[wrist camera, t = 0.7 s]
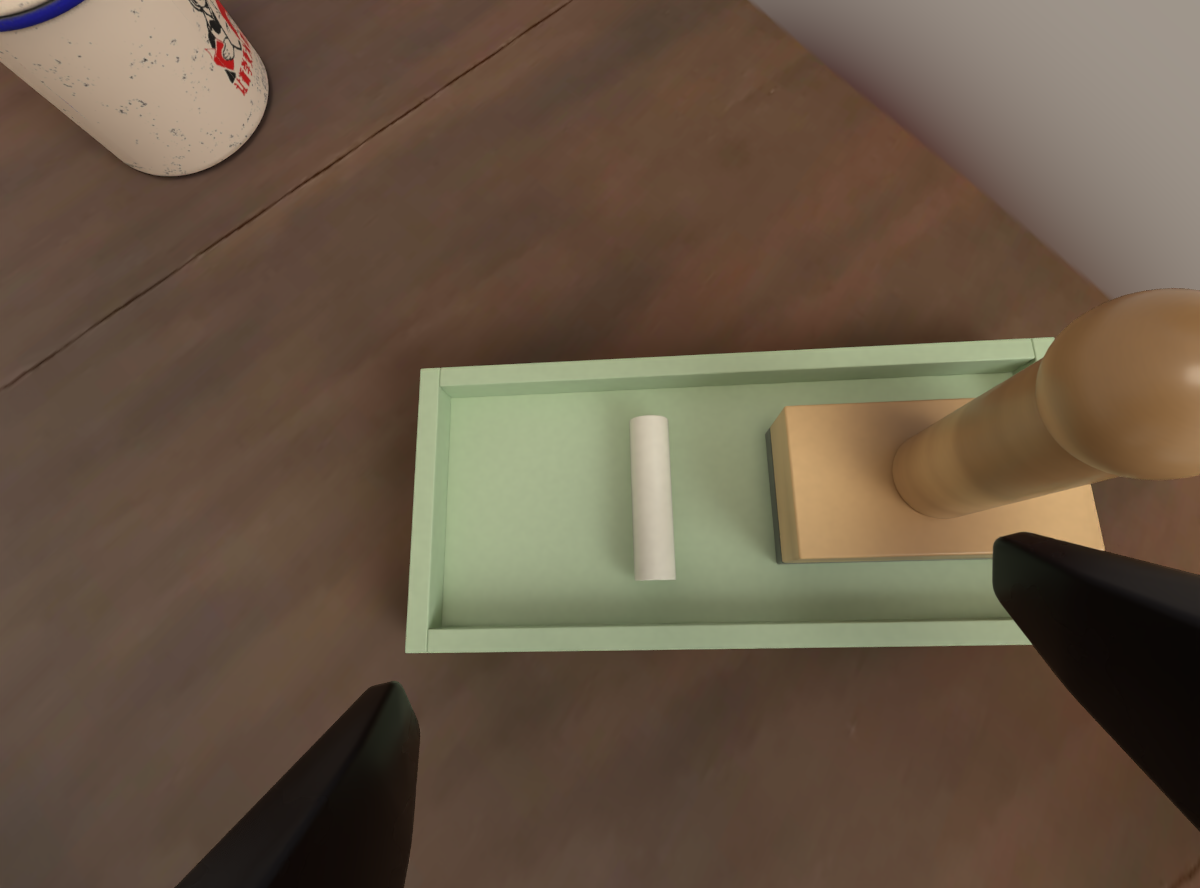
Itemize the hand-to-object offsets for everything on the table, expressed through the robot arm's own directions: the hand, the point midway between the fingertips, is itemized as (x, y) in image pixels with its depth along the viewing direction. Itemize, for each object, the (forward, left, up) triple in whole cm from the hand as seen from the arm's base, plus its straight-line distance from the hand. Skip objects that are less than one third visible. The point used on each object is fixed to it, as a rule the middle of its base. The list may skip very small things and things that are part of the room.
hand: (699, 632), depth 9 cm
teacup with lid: (+35, -2, -15) cm, 38 cm away
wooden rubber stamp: (-3, -9, -14) cm, 17 cm away
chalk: (+4, -2, -13) cm, 14 cm away
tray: (+1, -5, -14) cm, 15 cm away
